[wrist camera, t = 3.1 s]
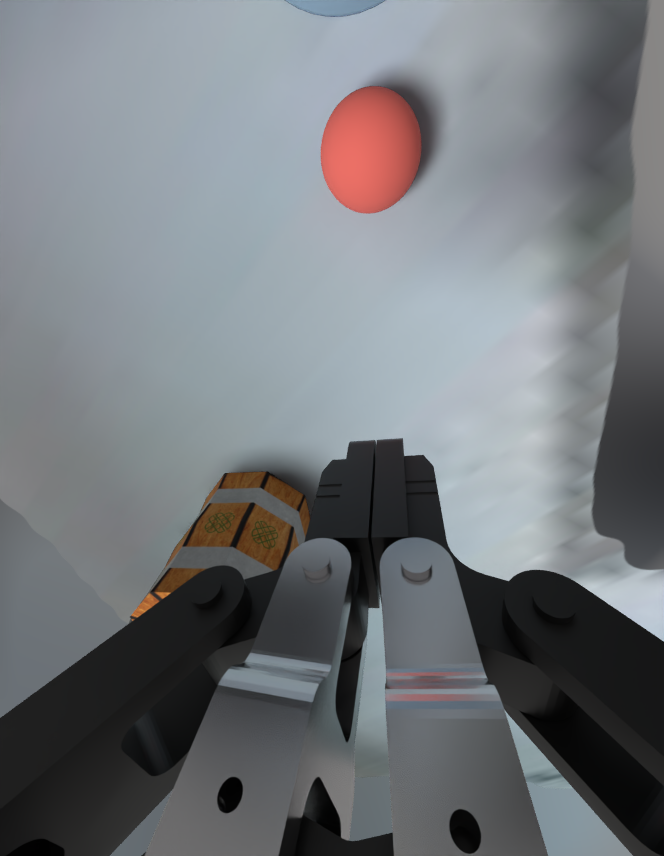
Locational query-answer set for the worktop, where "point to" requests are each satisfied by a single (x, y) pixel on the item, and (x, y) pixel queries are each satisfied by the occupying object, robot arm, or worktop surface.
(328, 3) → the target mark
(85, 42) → the worktop surface
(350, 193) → the ball
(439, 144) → the worktop surface
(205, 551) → the brown wooden cylinder
